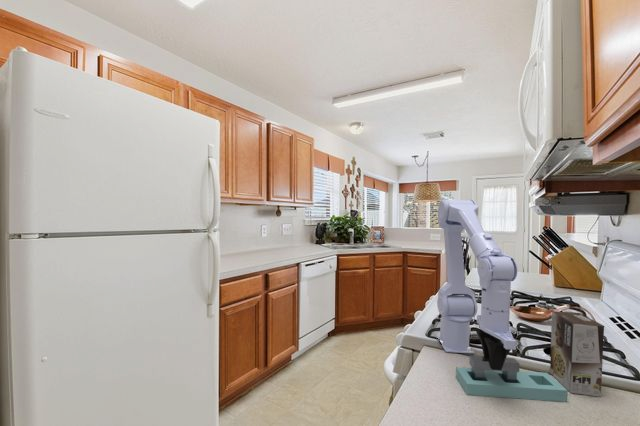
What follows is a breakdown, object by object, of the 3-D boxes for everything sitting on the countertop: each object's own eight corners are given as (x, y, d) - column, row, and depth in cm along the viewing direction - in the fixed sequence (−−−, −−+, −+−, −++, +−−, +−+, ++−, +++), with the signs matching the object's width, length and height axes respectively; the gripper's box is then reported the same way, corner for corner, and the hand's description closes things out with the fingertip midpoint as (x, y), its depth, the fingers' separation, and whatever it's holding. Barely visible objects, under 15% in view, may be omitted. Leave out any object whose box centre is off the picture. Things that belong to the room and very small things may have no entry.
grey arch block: (468, 376, 73) (469, 355, 73) (513, 379, 72) (513, 358, 72) (473, 382, 70) (473, 360, 70) (518, 385, 69) (519, 363, 69)
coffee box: (602, 397, 68) (606, 326, 68) (569, 393, 69) (572, 323, 69) (577, 375, 77) (580, 312, 77) (548, 371, 78) (551, 309, 78)
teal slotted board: (467, 394, 68) (467, 383, 68) (455, 377, 75) (456, 367, 75) (567, 401, 66) (567, 390, 66) (546, 383, 73) (546, 372, 73)
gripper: (532, 320, 63) (529, 385, 63) (497, 298, 77) (496, 351, 78) (496, 318, 64) (494, 382, 64) (469, 297, 78) (467, 349, 78)
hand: (493, 365), depth 71 cm, fingers closed on grey arch block, 2 cm apart
